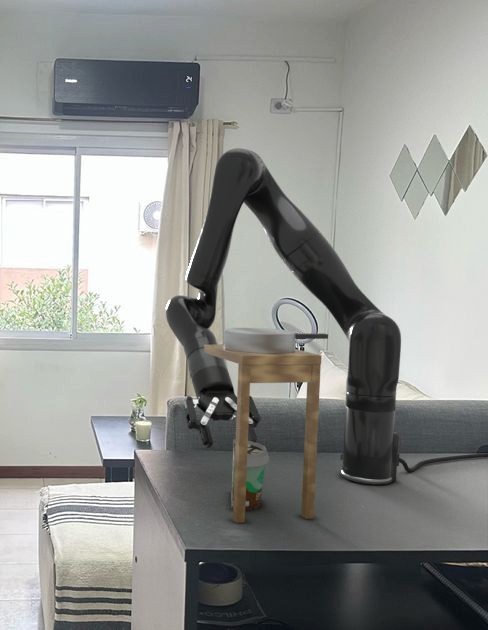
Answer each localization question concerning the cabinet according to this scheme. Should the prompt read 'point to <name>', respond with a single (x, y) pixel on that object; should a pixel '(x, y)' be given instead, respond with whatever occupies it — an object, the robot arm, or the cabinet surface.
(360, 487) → the cabinet surface
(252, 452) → the food container
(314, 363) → the pan shelf
